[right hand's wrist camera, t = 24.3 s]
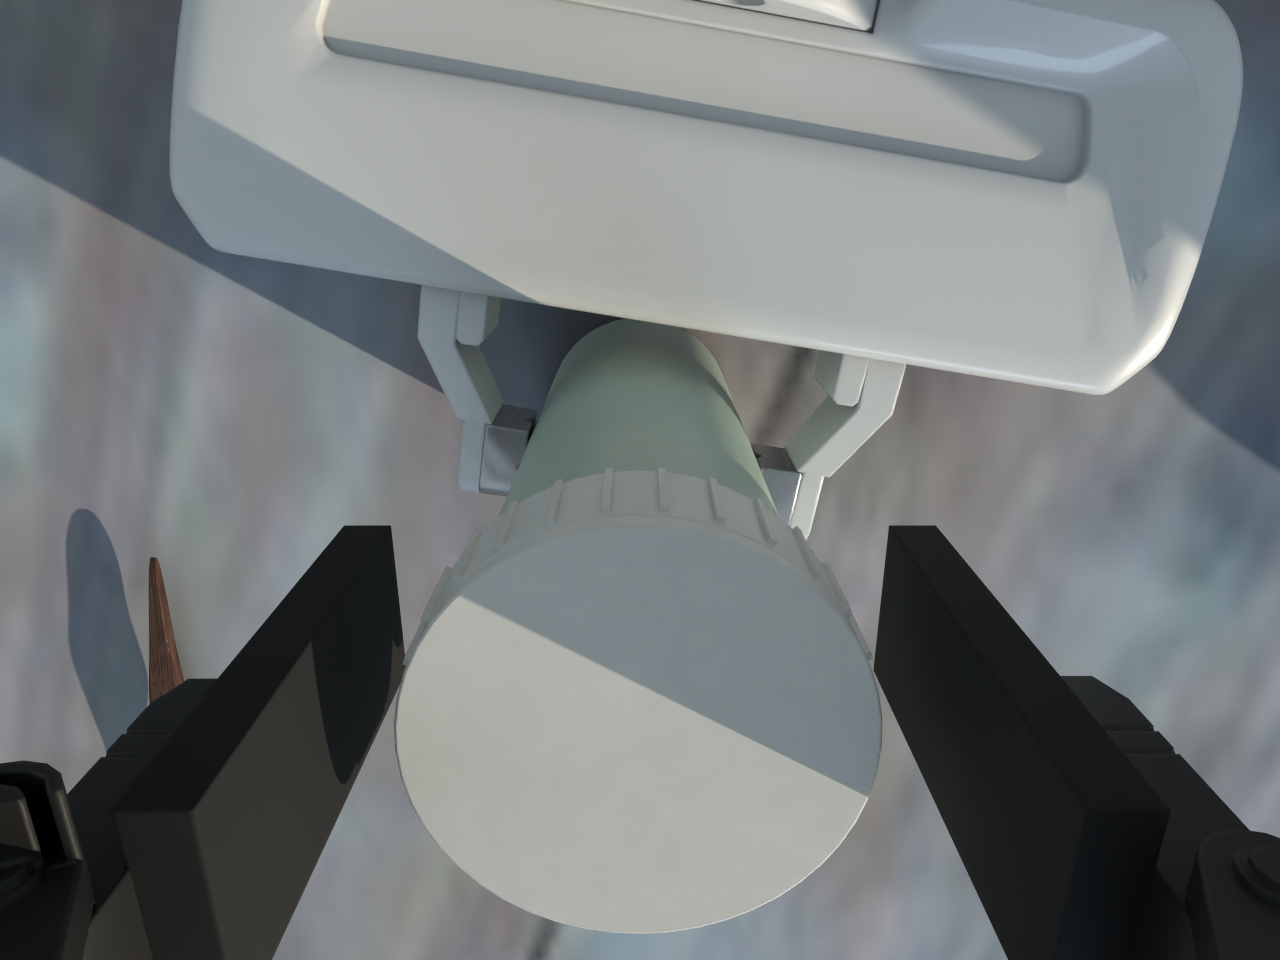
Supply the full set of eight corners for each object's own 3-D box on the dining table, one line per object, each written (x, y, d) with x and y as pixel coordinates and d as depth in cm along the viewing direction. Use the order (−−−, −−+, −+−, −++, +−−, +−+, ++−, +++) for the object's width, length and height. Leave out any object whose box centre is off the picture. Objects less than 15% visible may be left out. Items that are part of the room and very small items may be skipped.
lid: (868, 461, 11) (912, 517, 9) (837, 833, 13) (867, 937, 12) (403, 467, 11) (357, 524, 10) (445, 837, 13) (414, 941, 12)
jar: (740, 329, 25) (874, 544, 11) (712, 496, 27) (794, 870, 13) (560, 305, 25) (452, 493, 11) (544, 476, 27) (433, 834, 12)
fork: (204, 554, 27) (171, 583, 26) (233, 929, 33) (209, 975, 31) (121, 546, 27) (83, 575, 25) (164, 924, 33) (136, 970, 31)
